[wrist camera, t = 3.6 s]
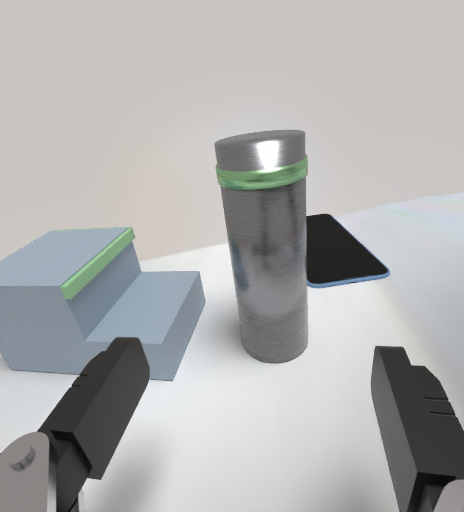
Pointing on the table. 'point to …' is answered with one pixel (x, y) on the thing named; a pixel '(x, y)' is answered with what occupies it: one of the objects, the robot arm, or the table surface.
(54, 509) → the robot arm
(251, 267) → the steel thermos flask
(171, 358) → the blue-grey stepped block
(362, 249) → the smartphone
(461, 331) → the table surface
